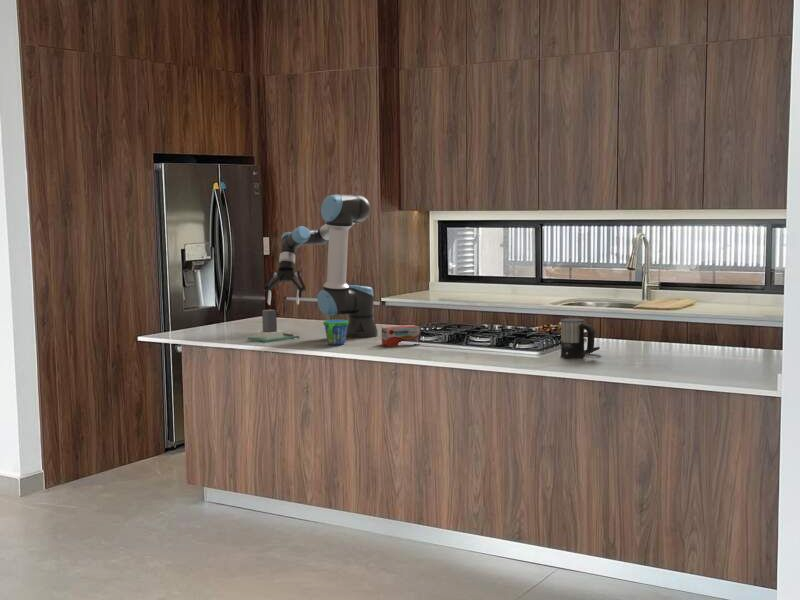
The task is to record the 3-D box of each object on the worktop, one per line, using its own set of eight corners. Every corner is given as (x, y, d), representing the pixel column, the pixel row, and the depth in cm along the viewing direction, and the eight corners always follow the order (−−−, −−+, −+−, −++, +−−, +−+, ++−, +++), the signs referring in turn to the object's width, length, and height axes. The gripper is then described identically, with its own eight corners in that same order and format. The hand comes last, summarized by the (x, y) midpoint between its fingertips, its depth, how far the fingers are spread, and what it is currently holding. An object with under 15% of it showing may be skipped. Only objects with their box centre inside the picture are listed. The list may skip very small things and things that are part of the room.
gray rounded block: (276, 336, 432) (276, 310, 431) (268, 337, 429) (267, 311, 428) (271, 335, 436) (270, 309, 435) (262, 336, 433) (262, 310, 432)
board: (299, 338, 435) (298, 330, 434) (265, 342, 423) (265, 334, 422) (281, 335, 445) (280, 327, 445) (248, 339, 433) (247, 331, 433)
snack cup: (339, 347, 407) (339, 323, 406) (317, 346, 411) (316, 322, 410) (354, 342, 421) (354, 319, 420) (333, 341, 425) (332, 318, 424)
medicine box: (414, 342, 419) (414, 324, 419) (420, 345, 412) (420, 326, 411) (381, 344, 414) (381, 326, 414) (387, 347, 407) (387, 328, 406)
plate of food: (584, 328, 457) (584, 316, 456) (598, 336, 429) (598, 323, 429) (526, 331, 456) (525, 319, 456) (536, 339, 429) (535, 326, 428)
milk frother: (557, 358, 373) (557, 320, 371) (565, 352, 387) (566, 315, 386) (594, 360, 367) (594, 322, 366) (601, 354, 382) (601, 317, 380)
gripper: (314, 266, 459) (310, 306, 450) (262, 267, 462) (258, 307, 453) (311, 259, 452) (308, 300, 443) (259, 260, 455) (255, 300, 446)
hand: (283, 303), depth 448 cm, fingers open, 13 cm apart
